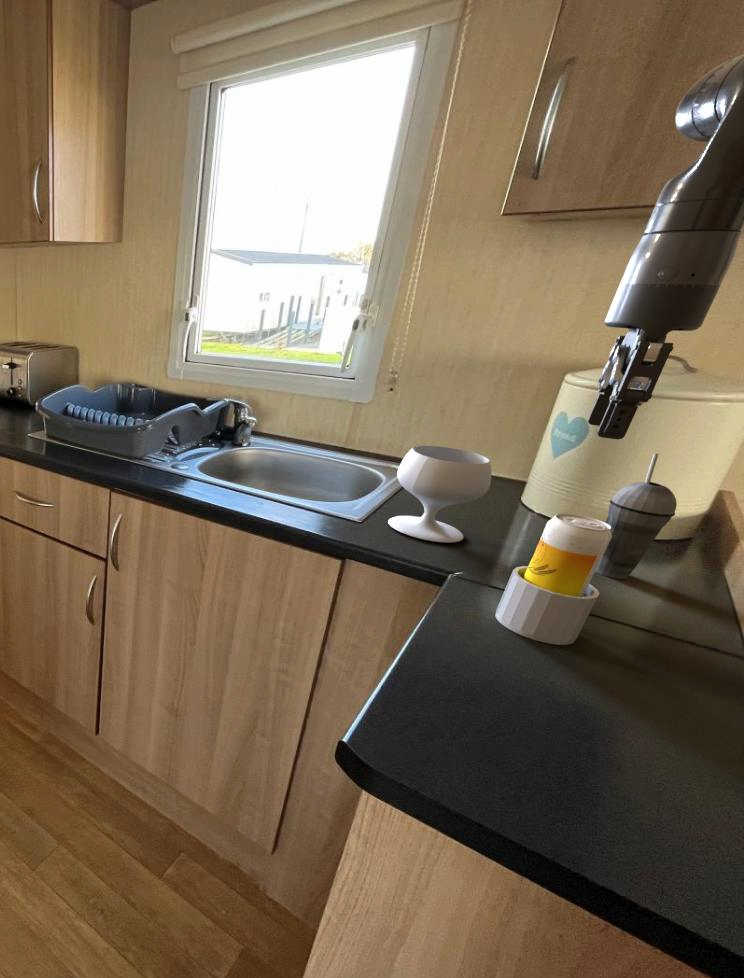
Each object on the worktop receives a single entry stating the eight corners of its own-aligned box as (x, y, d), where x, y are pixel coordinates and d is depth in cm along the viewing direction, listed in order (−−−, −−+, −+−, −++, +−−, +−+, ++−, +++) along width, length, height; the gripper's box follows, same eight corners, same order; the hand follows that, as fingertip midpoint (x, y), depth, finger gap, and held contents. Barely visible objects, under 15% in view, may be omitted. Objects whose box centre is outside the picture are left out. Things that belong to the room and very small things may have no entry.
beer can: (511, 605, 78) (553, 508, 72) (567, 623, 74) (616, 522, 68) (504, 621, 74) (548, 520, 68) (563, 641, 71) (615, 535, 65)
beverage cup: (637, 588, 86) (703, 465, 78) (576, 570, 91) (631, 453, 83) (641, 574, 90) (703, 456, 82) (582, 558, 95) (635, 446, 87)
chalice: (431, 550, 96) (460, 468, 90) (365, 520, 108) (386, 446, 102) (487, 541, 100) (518, 463, 94) (417, 513, 112) (441, 442, 106)
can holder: (582, 630, 74) (605, 585, 71) (567, 653, 69) (591, 605, 66) (505, 602, 80) (523, 560, 77) (486, 622, 75) (505, 577, 73)
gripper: (744, 280, 51) (661, 449, 58) (702, 283, 62) (635, 426, 68) (632, 279, 55) (567, 437, 62) (611, 282, 66) (557, 417, 72)
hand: (603, 431), depth 65 cm, fingers open, 8 cm apart
